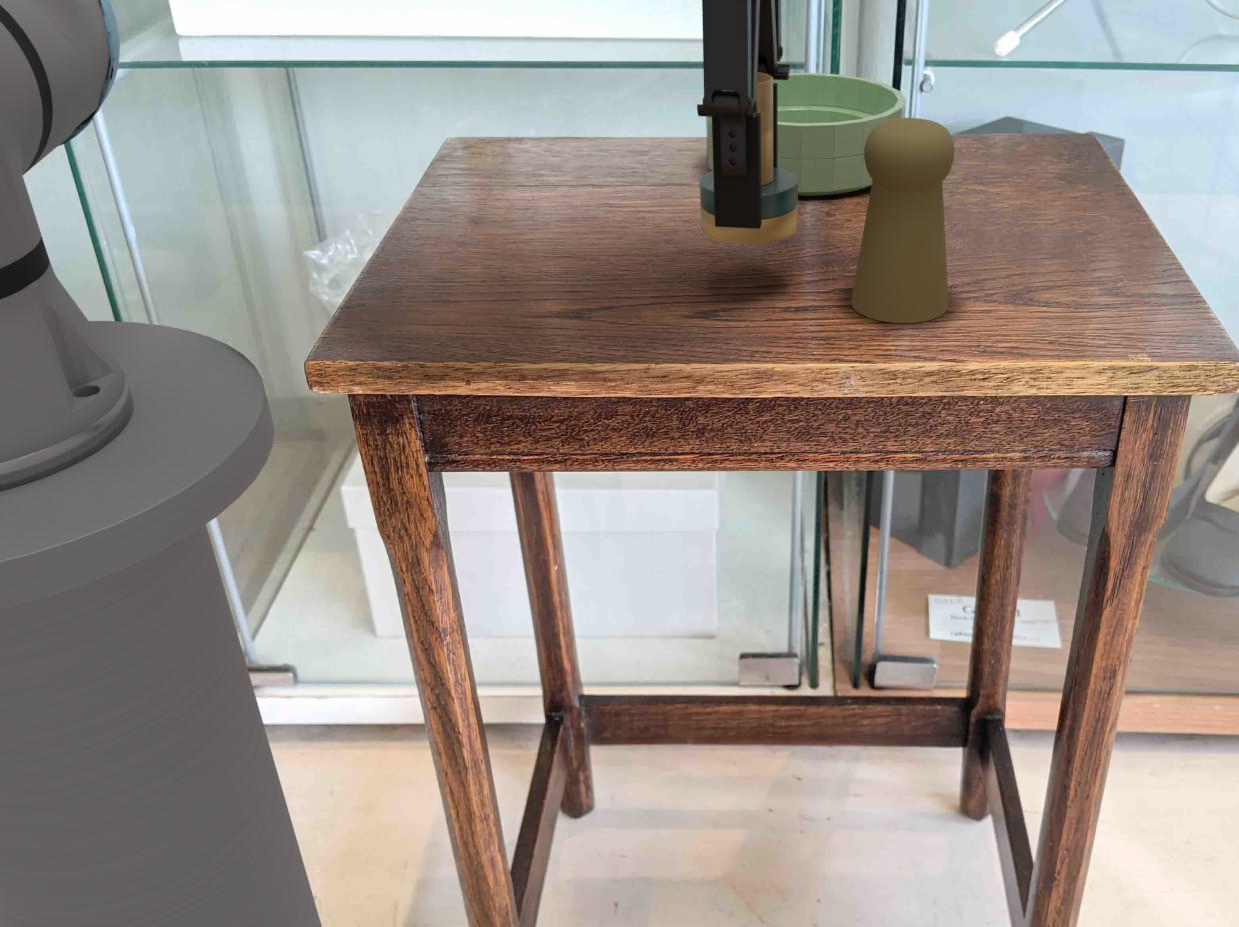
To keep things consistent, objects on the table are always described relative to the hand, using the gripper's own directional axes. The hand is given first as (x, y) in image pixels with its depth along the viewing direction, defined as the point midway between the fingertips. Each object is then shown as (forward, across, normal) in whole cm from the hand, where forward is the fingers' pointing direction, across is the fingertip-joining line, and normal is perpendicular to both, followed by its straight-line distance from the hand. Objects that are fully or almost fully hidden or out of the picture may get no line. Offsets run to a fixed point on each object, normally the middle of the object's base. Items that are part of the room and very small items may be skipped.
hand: (747, 206), depth 80 cm
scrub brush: (+1, 0, 0) cm, 1 cm away
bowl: (+5, +24, 0) cm, 25 cm away
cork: (+5, -2, -10) cm, 11 cm away
